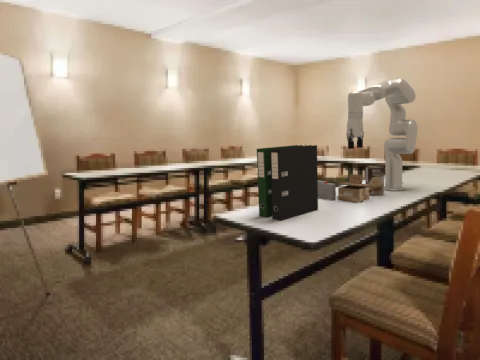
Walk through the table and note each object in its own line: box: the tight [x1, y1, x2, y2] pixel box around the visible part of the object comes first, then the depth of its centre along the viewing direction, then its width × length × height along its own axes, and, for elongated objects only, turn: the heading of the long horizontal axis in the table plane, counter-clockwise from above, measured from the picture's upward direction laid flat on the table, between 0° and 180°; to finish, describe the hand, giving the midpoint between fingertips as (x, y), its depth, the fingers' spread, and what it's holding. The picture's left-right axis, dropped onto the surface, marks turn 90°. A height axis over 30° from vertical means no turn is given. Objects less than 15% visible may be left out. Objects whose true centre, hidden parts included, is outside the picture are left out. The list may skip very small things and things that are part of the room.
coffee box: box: [364, 166, 385, 197], centre depth 205 cm, size 9×6×16 cm
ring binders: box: [256, 144, 319, 222], centre depth 170 cm, size 27×15×32 cm, turn 129°
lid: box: [337, 182, 370, 186], centre depth 194 cm, size 12×12×1 cm
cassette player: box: [318, 180, 337, 201], centre depth 203 cm, size 16×3×10 cm, turn 33°
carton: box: [337, 185, 370, 203], centre depth 195 cm, size 12×12×7 cm
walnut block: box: [348, 173, 363, 184], centre depth 193 cm, size 5×5×5 cm
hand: (355, 148), depth 191 cm, fingers open, 9 cm apart
